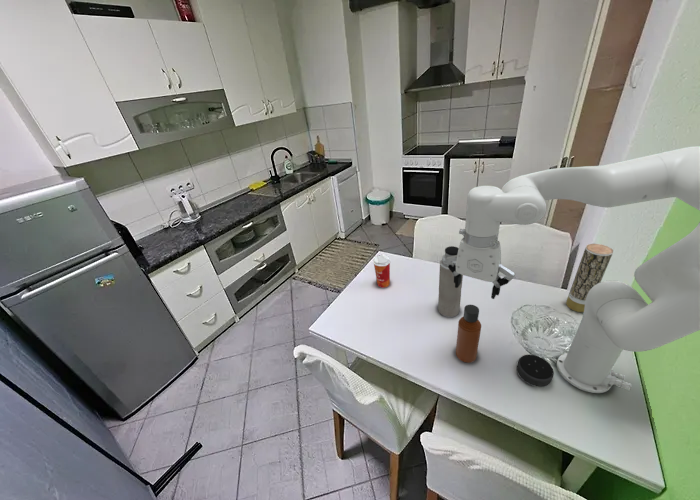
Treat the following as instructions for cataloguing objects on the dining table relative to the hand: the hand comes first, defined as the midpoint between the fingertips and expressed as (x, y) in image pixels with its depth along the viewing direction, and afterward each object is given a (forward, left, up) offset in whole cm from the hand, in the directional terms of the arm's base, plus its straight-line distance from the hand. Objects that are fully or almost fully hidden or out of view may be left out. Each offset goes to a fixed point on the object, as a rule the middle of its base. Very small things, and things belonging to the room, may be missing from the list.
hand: (475, 290), depth 77 cm
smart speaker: (-18, -3, -27) cm, 33 cm away
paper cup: (+44, -17, -27) cm, 54 cm away
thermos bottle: (+13, -16, -27) cm, 34 cm away
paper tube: (-25, -41, -27) cm, 55 cm away
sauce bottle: (0, 0, -27) cm, 27 cm away
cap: (0, 0, -10) cm, 10 cm away
